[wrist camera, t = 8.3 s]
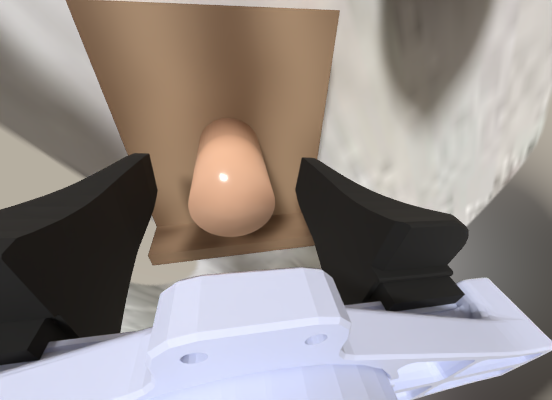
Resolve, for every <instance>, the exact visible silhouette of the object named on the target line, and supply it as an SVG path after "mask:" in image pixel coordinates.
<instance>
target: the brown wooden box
mask: <svg viewBox="0 0 552 400" xmlns="http://www.w3.org/2000/svg"><path fill="white" fill-rule="evenodd" d="M66 2H67V5H68V7H69V10H70V12H71V15H72V17H73V20H74V22H75V25H76V27H77V29H78V32H79V34H80V37H81V39H82V42H83V44H84V47H85V49H86V52H87V54H88V57H89V59H90V62H91V64H92V67H93V69H94V72H95V74H96V77H97V79H98V82H99V84H100V87H101V89H102V92H103V94H104V97H105V99H106V102H107V104H108V107H109V109H110V112H111V114H112V117H113V119H114V121H115V124H116V126H117V129H118V131H119V134H120V136H121V139H122V141H123V144H124V146H125V149H126V151H127V154H128V156H129V155H131V154H133V153H149V154H150V158H151V163H152V167H153V172H154V176H155V181H156V185H157V189H158V192H157V198H156V203H155V207H154V210H153V213H152V216H153V218H154V221H155V223H156V226H157V228H156V232H155V235H154V238H153V241H152V244H151V247H150V251H149V254H148V257H149V259H150V260H151V263H152V265H160V264H169V263H177V262H185V261H193V260H201V259H209V258H217V257H225V256H233V255H241V254H249V253H257V252H265V251H273V250H282V249H290V248H298V247H306V246H314V245H315V243H314V241H313V238H312V236H311V233H310V231H309V228H308V226H307V224H306V221H305V219H304V217H303V214H302V212H301V209H300V207H299V204H298V200H297V196H296V192H295V188H296V183H297V178H298V173H299V168H300V164H301V159H302V157H306V158H315V159H317V156H318V150H319V143H320V137H321V130H322V123H323V117H324V110H325V104H326V97H327V91H328V84H329V78H330V71H331V64H332V58H333V51H334V45H335V38H336V32H337V25H338V18H339V12H340V10H317V9H294V8H270V7H246V6H223V5H199V4H176V3H152V2H128V1H105V0H66ZM222 118H234V119H238V120H240V121H243V122H244V123H246V124H247V125H249V126H250V127H251V128H252V129H253V131H254V132H255V134H256V136H257V138H258V142H259V145H260V148H261V152H262V155H263V159H264V162H265V166H266V169H267V173H268V176H269V179H270V183H271V186H272V190H273V193H274V197H275V208H274V212H273V214H272V216H271V218H270V219H269V220H268V222H267V223H266V224H265V225H263V226H262V227H261V228H259V229H258V230H256V231H254V232H252V233H249V234H246V235H243V236H237V237H224V236H218V235H214V234H211V233H209V232H207V231H205V230H203V229H202V228H200V227H199V226H198V225H197V224H196V223H195V222H194V220H193V219H192V217H191V215H190V213H189V208H188V201H189V195H190V190H191V184H192V179H193V173H194V168H195V162H196V156H197V151H198V145H199V140H200V136H201V134H202V132H203V130H204V129H205V128H206V127H207V126H208V125H209V124H210V123H212V122H213V121H216V120H218V119H222Z"/></svg>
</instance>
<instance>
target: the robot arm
mask: <svg viewBox="0 0 552 400" xmlns="http://www.w3.org/2000/svg"><path fill="white" fill-rule="evenodd" d="M157 192H158V189H157V185H156V181H155V176H154V172H153V167H152V163H151V158H150V154H149V153H133V154H131V155H129V156H127V157H125V158H123V159H121V160H119V161H117V162H116V163H114V164H112V165H110V166H108V167H107V168H105V169H103V170H101V171H99V172H97V173H95V174H93V175H91V176H89V177H87V178H85V179H83V180H81V181H79V182H77V183H75V184H73V185H70V186H68V187H66V188H64V189H61V190H58V191H56V192H53V193H51V194H48V195H45V196H42V197H39V198H36V199H33V200H30V201H27V202H24V203H21V204H18V205H15V206H12V207H8V208H5V209H1V210H0V400H413V399H416V398H419V397H423V396H426V395H430V394H433V393H436V392H440V391H443V390H447V389H450V388H454V387H458V386H461V385H465V384H468V383H472V382H476V381H480V380H484V379H488V378H493V377H497V376H500V375H503V374H505V373H507V372H509V371H511V370H513V369H515V368H517V367H519V366H521V365H523V364H525V363H527V362H529V361H531V360H533V359H536V358H538V357H540V356H542V355H544V354H546V353H548V352H550V351H552V341H551V340H550V339H549V338H548V337H547V336H546V335H545V334H544V333H543V332H542V331H541V330H540V329H539V328H538V327H537V326H536V325H535V324H534V323H533V322H532V321H531V320H530V319H529V318H528V317H527V316H526V315H525V314H524V313H523V312H522V311H521V310H520V309H519V308H518V307H517V306H516V305H515V304H514V303H512V301H511V300H510V299H509V298H507V296H506V295H505V294H503V292H501V291H500V290H499V289H498V288H497V287H496V286H495V285H494V284H493V283H492V282H491V281H490V280H489V279H488V278H475V279H466V280H462V281H459V282H457V283H455V282H454V281H453V280H452V279H451V278H450V276H451V275H452V274H453V271H452V270H451V268H449V266H448V263H449V262H450V261H451V260H452V259H453V258H454V257H455V256H456V254H457V253H458V252H459V251H460V250H461V249H462V247H463V246H464V245H465V244H466V241H467V239H468V229H467V227H466V226H465V225H464V224H463V223H462V222H460V221H459V220H458V219H457V218H456V217H455V216H453V215H451V214H447V213H442V212H438V211H433V210H429V209H424V208H420V207H417V206H413V205H410V204H406V203H403V202H400V201H397V200H394V199H391V198H388V197H386V196H383V195H381V194H378V193H376V192H373V191H371V190H369V189H367V188H365V187H363V186H361V185H359V184H357V183H355V182H353V181H351V180H350V179H348V178H346V177H344V176H343V175H341V174H339V173H338V172H336V171H335V170H333V169H332V168H330V167H328V166H327V165H325V164H324V163H322V162H320V161H319V160H317V159H315V158H306V157H302V159H301V164H300V168H299V173H298V178H297V183H296V188H295V192H296V196H297V200H298V204H299V207H300V209H301V212H302V214H303V217H304V219H305V221H306V224H307V226H308V228H309V231H310V233H311V236H312V238H313V241H314V243H315V247H316V250H317V253H318V257H319V260H320V264H321V268H322V270H321V269H316V268H306V267H295V268H282V269H270V270H257V271H245V272H232V273H220V274H207V275H200V276H196V277H191V278H187V279H183V280H180V281H178V282H176V283H175V284H173V285H172V286H170V287H169V288H168V289H166V290H165V291H163V292H162V293H161V294H160V297H159V301H158V306H157V310H156V315H155V319H154V324H153V327H150V328H146V329H143V330H140V331H133V332H125V333H120V331H121V325H122V319H123V314H124V308H125V303H126V298H127V293H128V289H129V284H130V280H131V275H132V271H133V267H134V263H135V259H136V255H137V252H138V249H139V246H140V244H141V241H142V239H143V236H144V234H145V231H146V228H147V226H148V223H149V221H150V218H151V216H152V213H153V210H154V207H155V203H156V198H157Z"/></svg>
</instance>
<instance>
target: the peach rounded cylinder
mask: <svg viewBox="0 0 552 400" xmlns="http://www.w3.org/2000/svg"><path fill="white" fill-rule="evenodd" d="M188 208H189V213H190V215H191V217H192V219H193V220H194V222H195V223H196V224H197V225H198V226H199V227H200V228H202V229H203V230H205V231H207V232H209V233H211V234H214V235H218V236H224V237H237V236H243V235H246V234H249V233H252V232H254V231H256V230H258V229H259V228H261V227H262V226H263V225H265V224H266V223H267V222H268V220H269V219H270V218H271V216H272V214H273V212H274V208H275V197H274V193H273V190H272V186H271V183H270V179H269V176H268V173H267V169H266V166H265V162H264V159H263V155H262V152H261V148H260V145H259V142H258V138H257V136H256V134H255V132H254V131H253V129H252V128H251V127H250V126H249V125H247V124H246V123H244V122H243V121H240V120H238V119H234V118H222V119H218V120H216V121H213V122H212V123H210V124H209V125H208V126H207V127H206V128H205V129H204V130H203V132H202V134H201V136H200V140H199V145H198V151H197V156H196V162H195V168H194V173H193V179H192V184H191V190H190V195H189V201H188Z"/></svg>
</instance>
